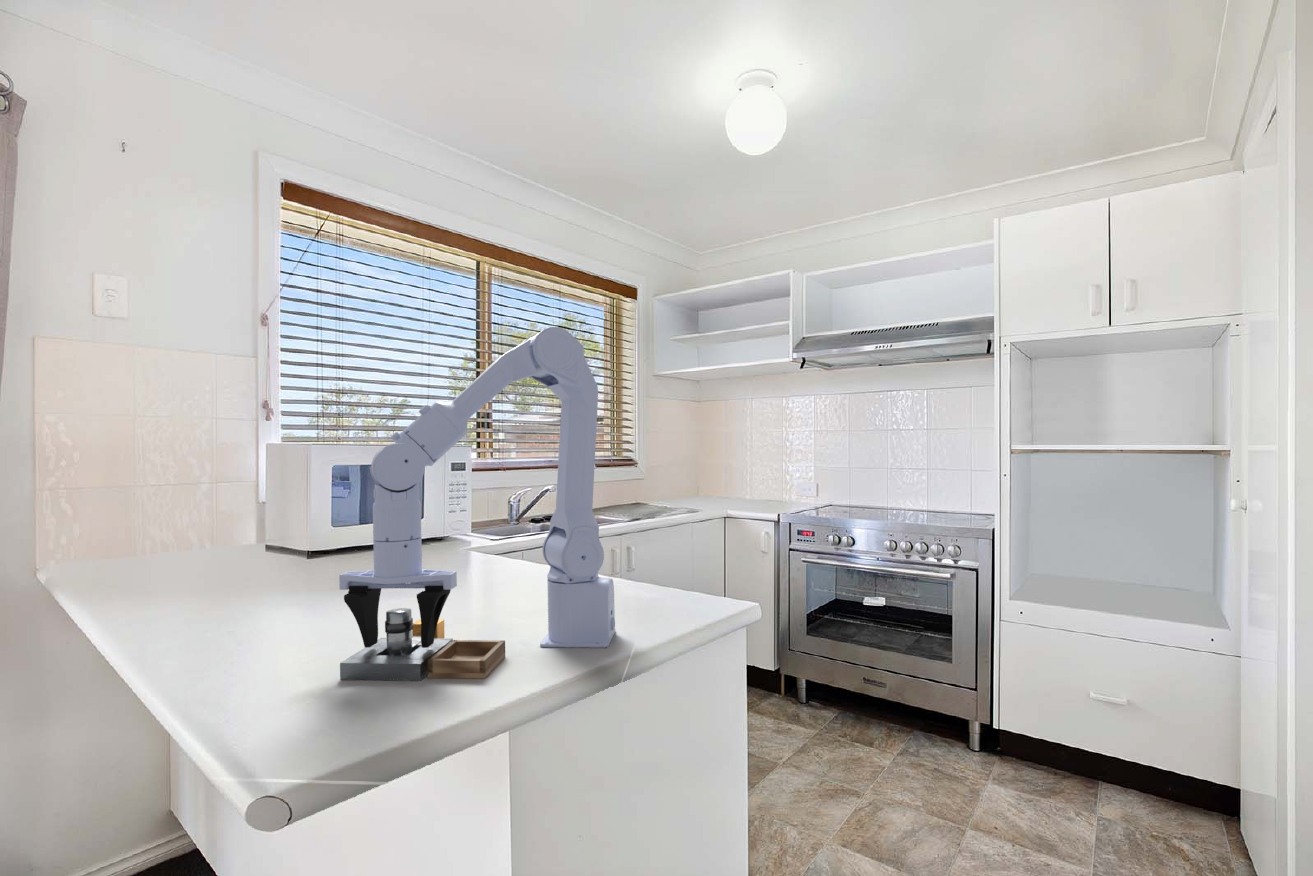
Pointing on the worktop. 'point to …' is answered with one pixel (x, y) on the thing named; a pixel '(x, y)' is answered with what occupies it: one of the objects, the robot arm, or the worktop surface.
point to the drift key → (417, 632)
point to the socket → (390, 662)
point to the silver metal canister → (399, 632)
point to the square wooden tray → (466, 659)
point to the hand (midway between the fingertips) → (399, 645)
